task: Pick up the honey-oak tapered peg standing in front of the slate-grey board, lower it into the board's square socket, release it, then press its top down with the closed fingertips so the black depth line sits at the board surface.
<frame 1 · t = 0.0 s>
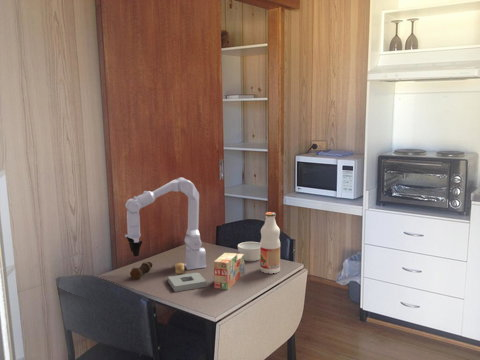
hand: (134, 253, 201), 10 cm above the table, fingers open, 7 cm apart
ramekin: (250, 258, 225), on the table
peg: (180, 278, 197), on the table
stack of blocks: (230, 280, 194), on the table
board: (187, 284, 190), on the table
fruit juice: (270, 271, 206), on the table
bolt: (143, 274, 203), on the table
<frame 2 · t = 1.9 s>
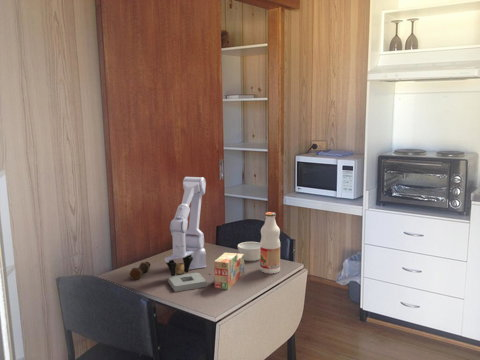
hand: (179, 274, 197), 2 cm above the table, fingers open, 7 cm apart
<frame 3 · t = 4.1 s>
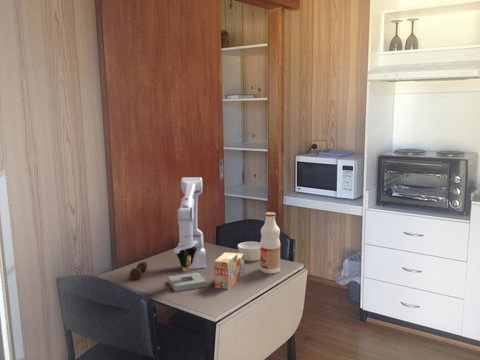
hand: (186, 265, 189), 9 cm above the table, fingers closed on peg, 4 cm apart
peg: (186, 269, 189), point 7 cm above the table, touching gripper
when the fingers open (3 cm above the table, at t = 5.7 s): peg stays where it is, resting in board.
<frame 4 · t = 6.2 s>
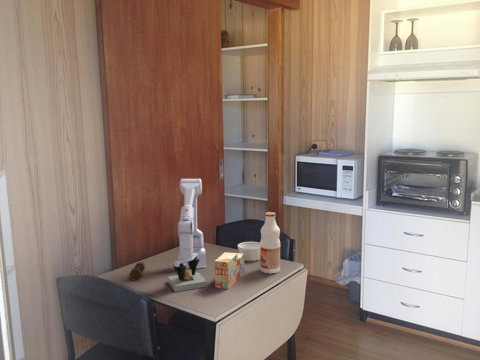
hand: (187, 277, 189), 3 cm above the table, fingers open, 7 cm apart
peg: (187, 284, 190), resting in board
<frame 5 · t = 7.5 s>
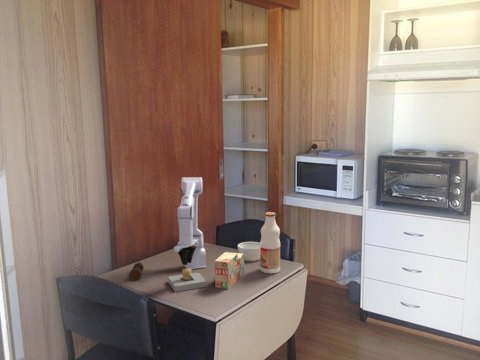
hand: (186, 263, 189), 9 cm above the table, fingers closed
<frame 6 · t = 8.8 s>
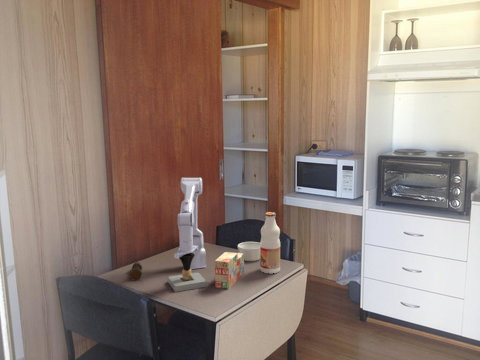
hand: (186, 269, 189), 7 cm above the table, fingers closed
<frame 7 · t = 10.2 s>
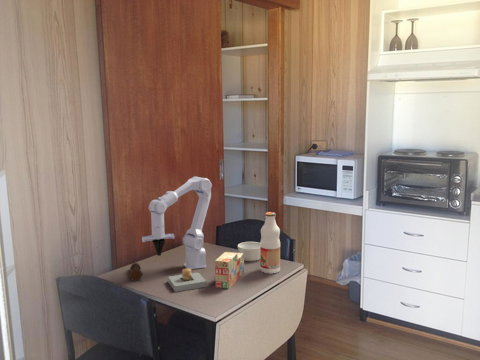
hand: (158, 255, 199), 10 cm above the table, fingers closed
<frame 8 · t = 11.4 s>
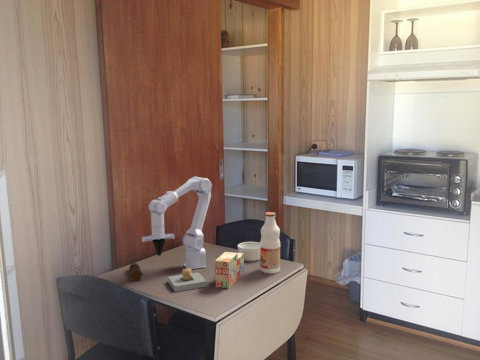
hand: (158, 255, 199), 10 cm above the table, fingers closed
at the end: peg 0.1 cm off-centre on the board, point 0.0 cm above the board's base; peg tilted 0°; the gripper is holding nothing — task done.
